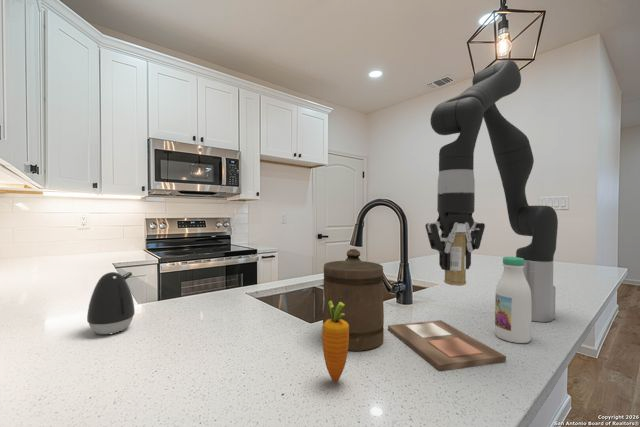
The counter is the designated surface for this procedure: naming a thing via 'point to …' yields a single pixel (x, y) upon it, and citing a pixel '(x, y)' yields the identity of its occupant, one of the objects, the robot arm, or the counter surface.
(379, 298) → the wooden container
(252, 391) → the counter surface
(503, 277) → the milk bottle
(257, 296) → the counter surface
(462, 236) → the sprinkles bottle
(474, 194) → the robot arm
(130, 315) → the pump dispenser
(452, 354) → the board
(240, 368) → the counter surface
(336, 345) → the carrot
